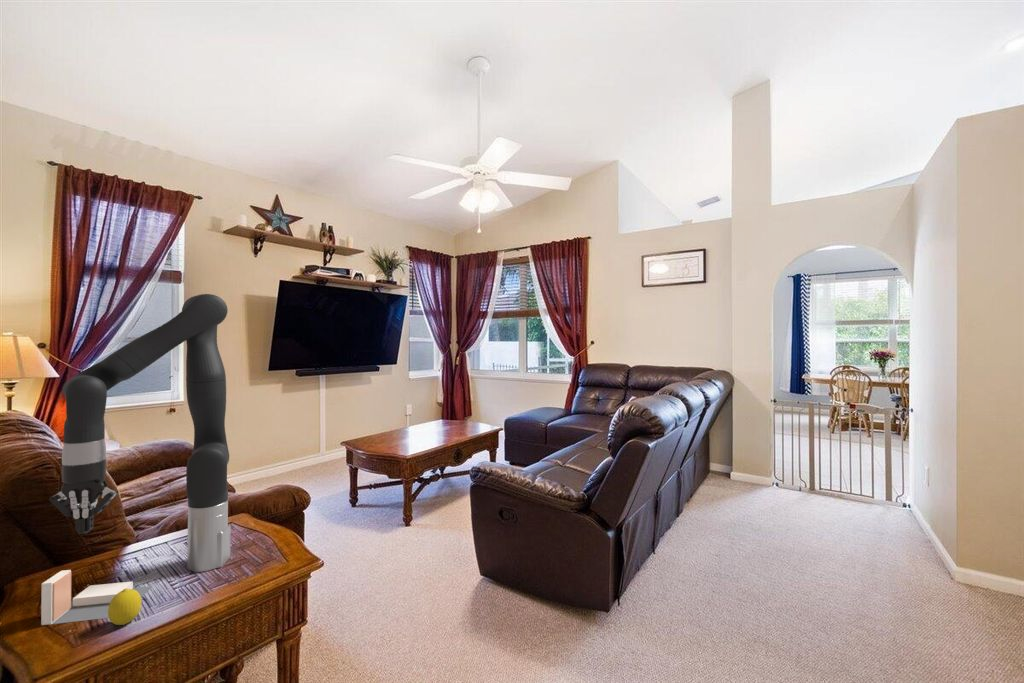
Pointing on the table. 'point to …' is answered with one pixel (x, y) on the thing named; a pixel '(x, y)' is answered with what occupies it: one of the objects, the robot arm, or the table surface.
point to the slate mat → (92, 610)
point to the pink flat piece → (56, 597)
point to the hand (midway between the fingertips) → (84, 532)
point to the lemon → (124, 607)
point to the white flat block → (100, 593)
